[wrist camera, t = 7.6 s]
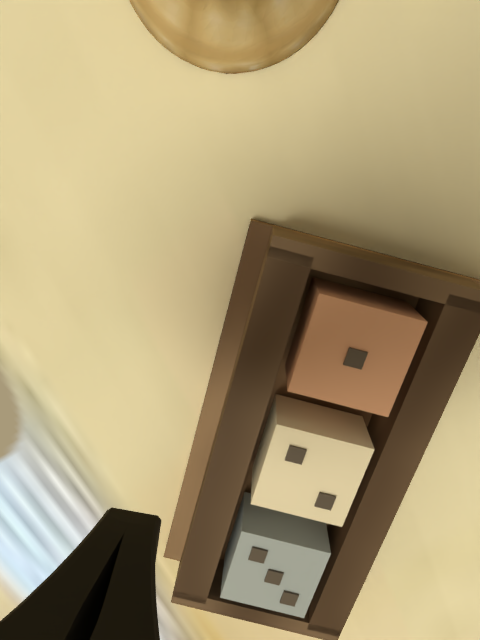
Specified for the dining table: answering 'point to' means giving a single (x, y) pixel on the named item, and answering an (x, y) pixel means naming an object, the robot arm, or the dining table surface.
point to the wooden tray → (270, 379)
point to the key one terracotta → (352, 347)
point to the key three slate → (274, 559)
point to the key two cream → (310, 460)
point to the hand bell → (233, 29)
